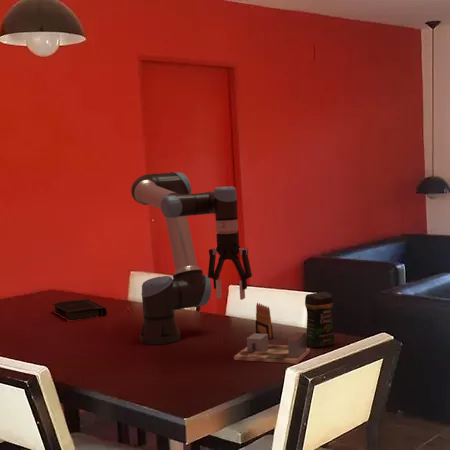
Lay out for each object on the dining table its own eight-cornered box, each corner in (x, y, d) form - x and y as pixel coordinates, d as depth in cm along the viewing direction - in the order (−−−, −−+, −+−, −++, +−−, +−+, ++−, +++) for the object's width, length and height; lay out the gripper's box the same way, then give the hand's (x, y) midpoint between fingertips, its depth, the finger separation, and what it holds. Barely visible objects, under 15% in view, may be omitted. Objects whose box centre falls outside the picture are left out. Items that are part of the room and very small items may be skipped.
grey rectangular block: (243, 356, 245) (242, 341, 244) (254, 347, 255) (254, 333, 254) (257, 357, 243) (256, 342, 242) (268, 348, 253) (267, 334, 252)
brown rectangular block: (288, 357, 241) (287, 339, 240) (297, 349, 250) (297, 332, 249) (297, 358, 240) (296, 340, 239) (306, 350, 249) (305, 332, 248)
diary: (90, 308, 349) (89, 298, 349) (107, 317, 327) (106, 306, 327) (50, 313, 340) (50, 303, 340) (66, 323, 318) (65, 311, 318)
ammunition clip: (273, 338, 272) (271, 306, 270) (268, 339, 271) (267, 307, 270) (260, 332, 281) (258, 301, 280) (255, 333, 281) (254, 302, 280)
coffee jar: (316, 349, 254) (313, 296, 252) (302, 344, 261) (300, 293, 259) (338, 344, 258) (336, 292, 256) (325, 340, 265) (323, 289, 263)
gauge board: (233, 359, 246) (233, 352, 246) (249, 348, 259) (249, 341, 259) (297, 364, 238) (296, 356, 237) (309, 352, 251) (309, 345, 250)
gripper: (194, 233, 251) (198, 299, 253) (251, 233, 243) (255, 301, 245) (204, 231, 258) (207, 295, 260) (259, 230, 249) (263, 297, 252)
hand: (230, 298), depth 252 cm, fingers open, 8 cm apart
